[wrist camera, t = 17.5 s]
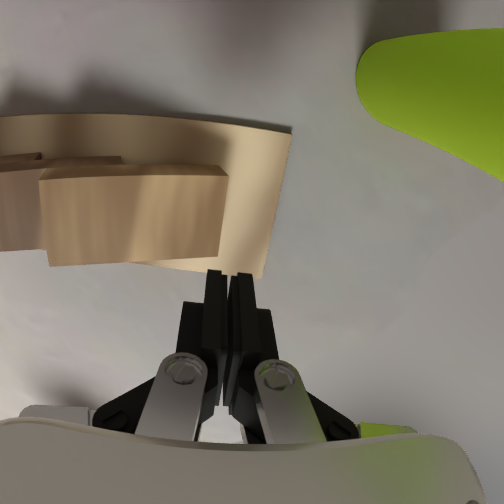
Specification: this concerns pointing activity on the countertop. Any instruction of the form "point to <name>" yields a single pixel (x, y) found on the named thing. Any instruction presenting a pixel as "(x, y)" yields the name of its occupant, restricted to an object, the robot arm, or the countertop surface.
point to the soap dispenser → (441, 91)
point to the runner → (176, 152)
